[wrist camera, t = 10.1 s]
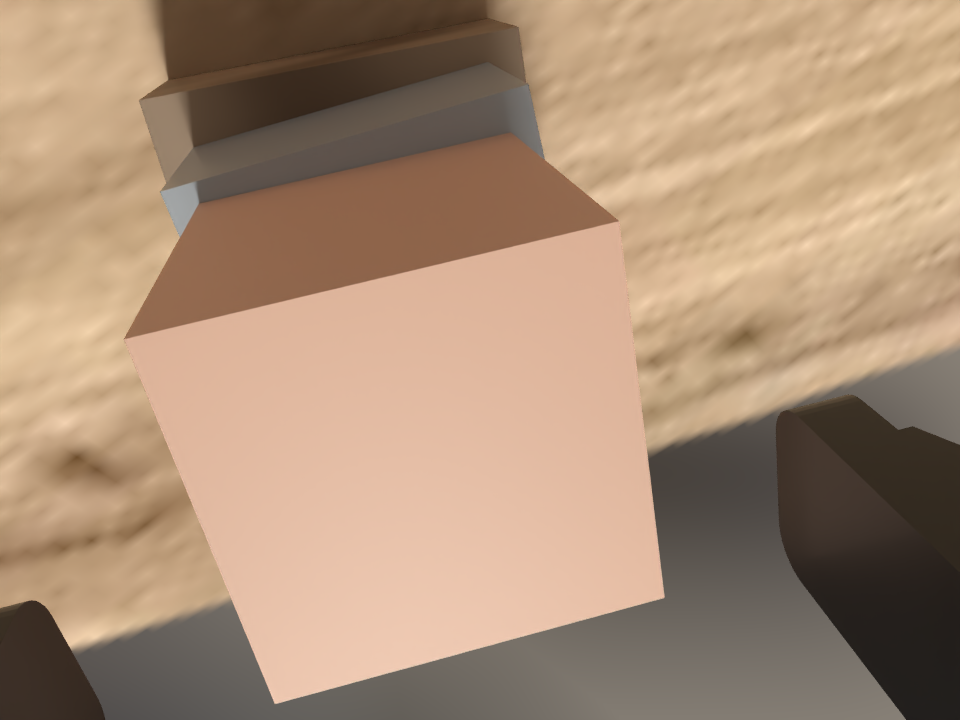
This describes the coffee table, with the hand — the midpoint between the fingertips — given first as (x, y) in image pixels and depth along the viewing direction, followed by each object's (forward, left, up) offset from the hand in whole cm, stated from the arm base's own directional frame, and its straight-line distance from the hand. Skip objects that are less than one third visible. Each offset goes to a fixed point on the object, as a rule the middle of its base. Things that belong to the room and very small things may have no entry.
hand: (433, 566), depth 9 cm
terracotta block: (0, 0, -7) cm, 7 cm away
